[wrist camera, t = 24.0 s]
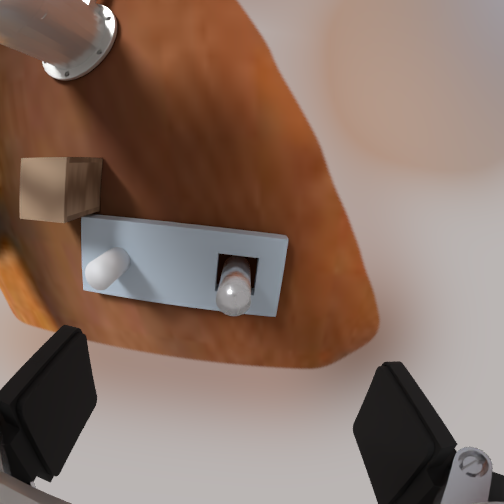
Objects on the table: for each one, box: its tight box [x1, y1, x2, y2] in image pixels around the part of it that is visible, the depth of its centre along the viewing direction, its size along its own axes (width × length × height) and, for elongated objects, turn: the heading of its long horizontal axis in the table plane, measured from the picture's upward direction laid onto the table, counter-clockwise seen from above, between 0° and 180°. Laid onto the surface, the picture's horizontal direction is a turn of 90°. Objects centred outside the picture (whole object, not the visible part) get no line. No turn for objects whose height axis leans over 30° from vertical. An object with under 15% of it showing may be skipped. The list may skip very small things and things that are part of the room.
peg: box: [216, 255, 251, 316], centre depth 35 cm, size 3×3×10 cm
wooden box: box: [20, 157, 103, 223], centre depth 32 cm, size 7×7×9 cm
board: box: [81, 214, 288, 317], centre depth 35 cm, size 10×26×8 cm, turn 83°
